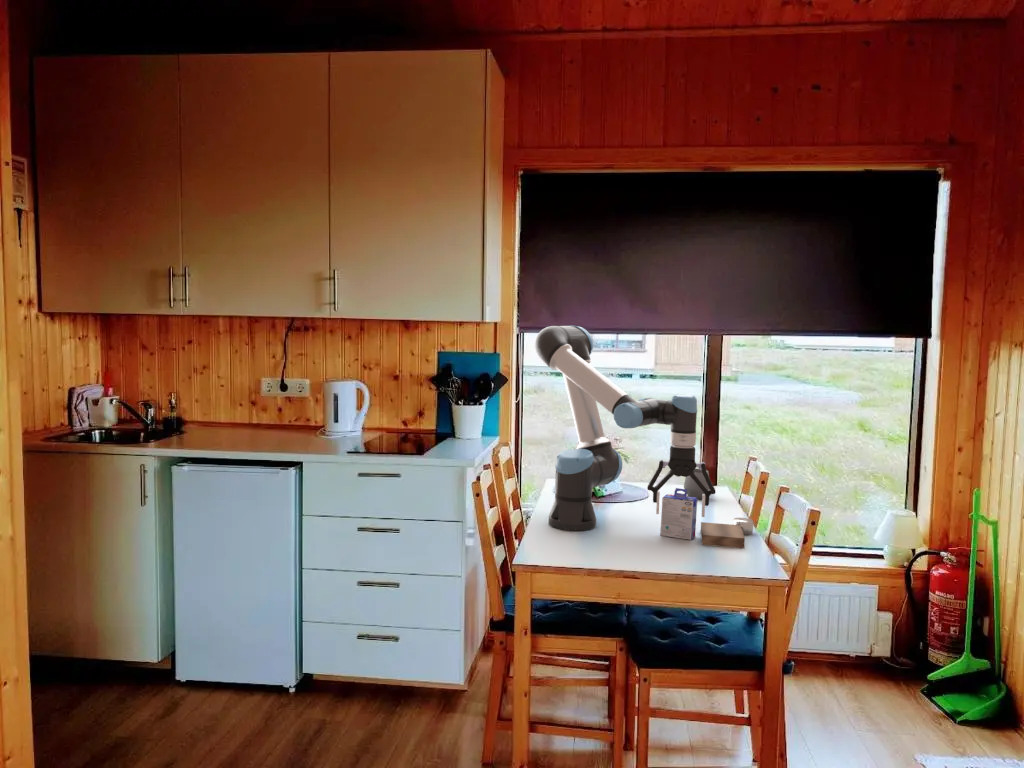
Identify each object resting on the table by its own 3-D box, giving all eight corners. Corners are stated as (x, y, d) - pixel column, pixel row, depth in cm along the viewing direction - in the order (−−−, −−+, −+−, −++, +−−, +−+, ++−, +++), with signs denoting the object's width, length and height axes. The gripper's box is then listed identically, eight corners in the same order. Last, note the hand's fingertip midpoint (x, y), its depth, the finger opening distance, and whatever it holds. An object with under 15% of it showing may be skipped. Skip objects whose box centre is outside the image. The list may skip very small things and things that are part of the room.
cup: (678, 494, 298) (680, 468, 297) (700, 493, 301) (702, 467, 300) (691, 501, 290) (693, 474, 288) (714, 499, 292) (716, 473, 291)
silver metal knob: (733, 534, 250) (734, 522, 249) (732, 529, 255) (732, 516, 255) (753, 536, 248) (754, 523, 248) (751, 530, 254) (752, 518, 254)
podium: (702, 544, 238) (702, 534, 238) (700, 531, 252) (701, 522, 251) (744, 548, 236) (744, 538, 235) (740, 534, 249) (740, 525, 249)
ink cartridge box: (696, 536, 246) (698, 490, 245) (692, 540, 241) (694, 493, 240) (664, 531, 251) (666, 485, 249) (659, 535, 246) (662, 489, 244)
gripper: (640, 445, 242) (638, 514, 244) (726, 450, 237) (723, 520, 239) (641, 441, 249) (639, 508, 251) (724, 445, 244) (721, 514, 246)
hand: (680, 514), depth 245 cm, fingers open, 13 cm apart
